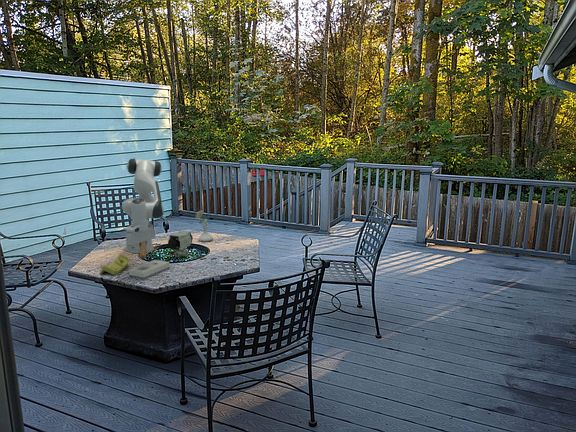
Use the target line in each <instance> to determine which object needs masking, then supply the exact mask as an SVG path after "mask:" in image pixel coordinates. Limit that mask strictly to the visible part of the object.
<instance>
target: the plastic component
mask: <svg viewBox="0 0 576 432" xmlns="http://www.w3.org/2000/svg"><path fill="white" fill-rule="evenodd" d="M130 260H131V259H130V258H129V257H128V256H126V255H124V254H118V256H117V258H115V260H114V261H113V262H112V263H111V264H110V265H108V266H106V265H103V266H102V268H101V270H100V271H99V274H100V273H101V274H100V275H103V274H104V273H105V272H107V273H109V274H111V275H113V276H115V274H116V275H118V274H119V273H120V272H123V270H124V269H126V267H127V266H128V265H129V264H130V262H131V261H130ZM103 272H104V273H103ZM102 273H103V274H102Z"/></svg>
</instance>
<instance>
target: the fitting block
mask: <svg viewBox="0 0 576 432" xmlns="http://www.w3.org/2000/svg"><path fill="white" fill-rule="evenodd" d="M168 269H170V261H165V260H159V259H158V260H157V259H154V260H151V261H148V262H146V263H143V264H140V265H138V266H136V267H133V268H130V269H128V276H129V277H130V276H131V278H134V279H136V278H137V279H140V280H141V279H142V280H146V279H147V278H150V277H153V276H155V275H157V274H159V273H162V272H165V271H166V270H168Z"/></svg>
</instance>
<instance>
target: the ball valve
mask: <svg viewBox="0 0 576 432" xmlns="http://www.w3.org/2000/svg"><path fill="white" fill-rule="evenodd" d="M192 244H193V235H192V233H191V231H186V230H185V231H184V230H182V231H181V230H179V231H178V232H175V233H173V234H170V235H169V239H168V241H167V245H168V247H169V249H170V250H175V252H174V256H175V257H176V258H182V257H188V255H189V250H188V249H187V248H188V247H190V246H192Z"/></svg>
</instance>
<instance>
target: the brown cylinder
mask: <svg viewBox="0 0 576 432" xmlns="http://www.w3.org/2000/svg"><path fill="white" fill-rule="evenodd" d="M139 247H141V250H139V253H138V255H139V259H145V258H147V252H146V246H145V241H143V242H141V243H139Z"/></svg>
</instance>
